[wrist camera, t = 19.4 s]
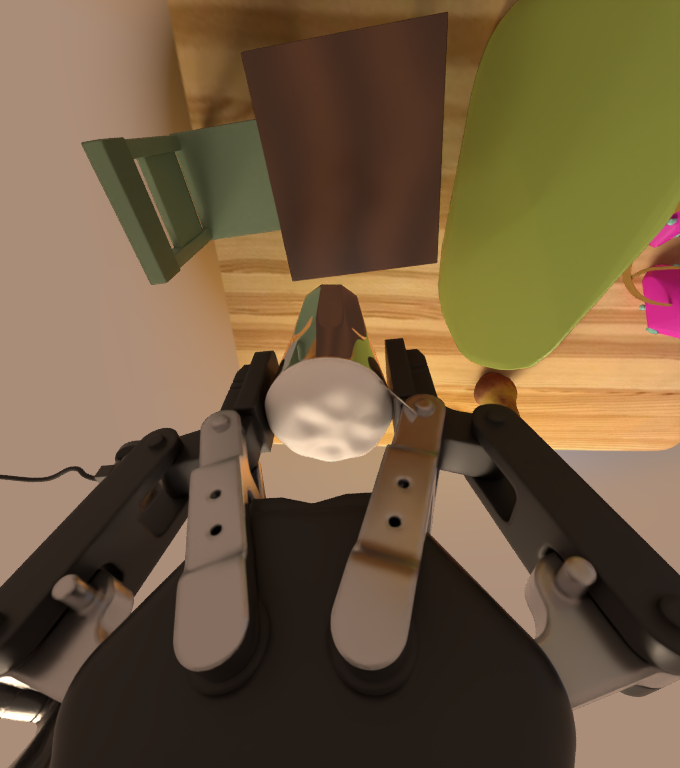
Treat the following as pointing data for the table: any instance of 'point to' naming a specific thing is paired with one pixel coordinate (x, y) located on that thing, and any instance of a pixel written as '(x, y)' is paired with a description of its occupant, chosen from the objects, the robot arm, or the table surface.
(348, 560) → the robot arm
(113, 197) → the chair
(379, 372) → the milkshake
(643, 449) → the table surface
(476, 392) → the fruit
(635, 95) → the green and pink pieces
